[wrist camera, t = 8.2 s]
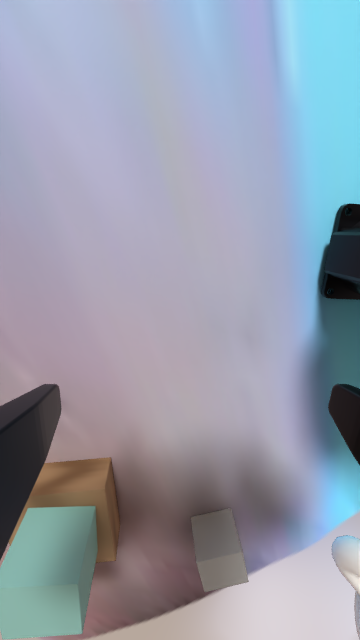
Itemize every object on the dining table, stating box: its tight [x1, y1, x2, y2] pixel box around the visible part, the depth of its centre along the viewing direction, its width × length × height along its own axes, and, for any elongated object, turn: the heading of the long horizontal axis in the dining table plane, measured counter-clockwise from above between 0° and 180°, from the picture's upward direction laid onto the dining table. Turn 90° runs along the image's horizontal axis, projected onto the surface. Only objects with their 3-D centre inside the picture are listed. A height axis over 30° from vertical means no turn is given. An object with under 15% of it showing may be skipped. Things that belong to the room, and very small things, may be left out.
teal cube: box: [0, 506, 98, 639], centre depth 20 cm, size 5×5×5 cm
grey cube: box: [191, 508, 248, 592], centre depth 26 cm, size 4×4×4 cm
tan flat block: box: [9, 458, 120, 563], centre depth 24 cm, size 8×8×4 cm
